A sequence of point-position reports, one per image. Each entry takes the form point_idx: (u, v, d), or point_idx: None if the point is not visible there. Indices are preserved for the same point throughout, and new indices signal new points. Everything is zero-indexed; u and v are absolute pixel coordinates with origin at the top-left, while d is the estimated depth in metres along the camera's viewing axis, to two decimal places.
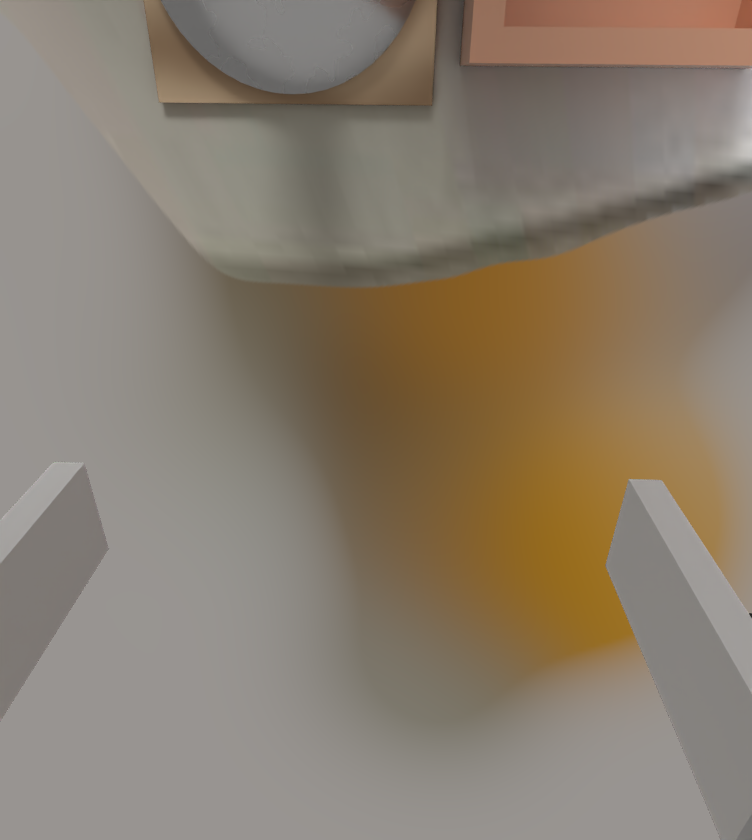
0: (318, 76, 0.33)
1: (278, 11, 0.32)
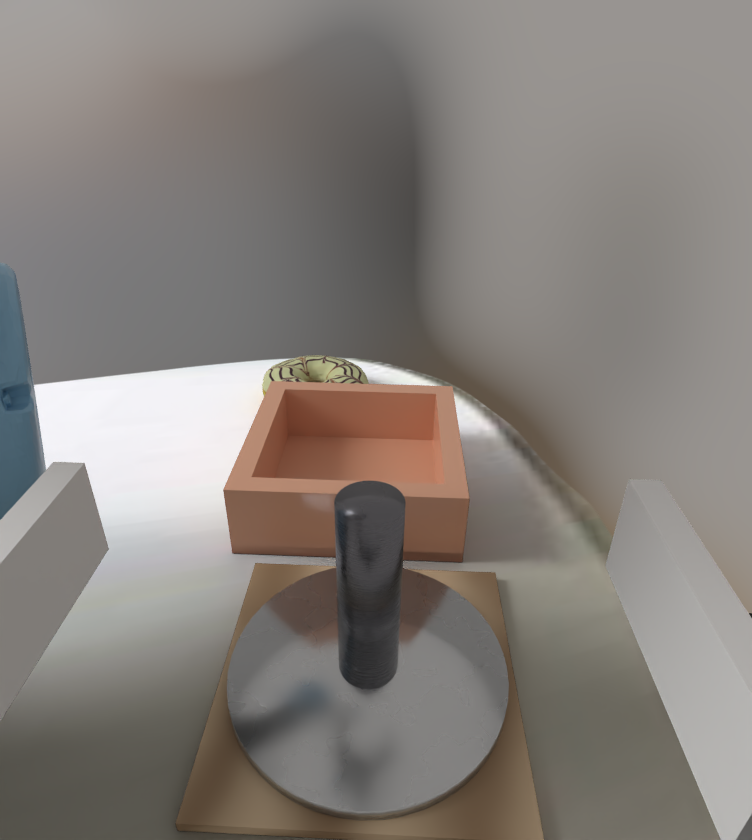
0: (487, 644, 0.33)
1: (435, 673, 0.32)
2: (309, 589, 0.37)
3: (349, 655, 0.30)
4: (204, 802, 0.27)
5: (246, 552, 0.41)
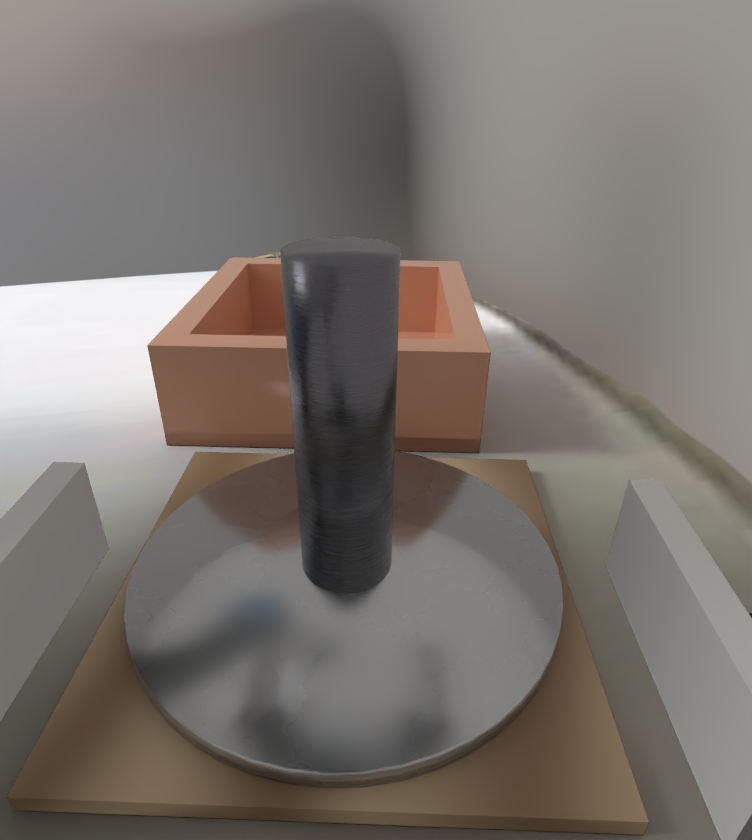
0: (524, 536, 0.22)
1: (448, 572, 0.21)
2: (265, 475, 0.26)
3: (314, 536, 0.19)
4: (63, 762, 0.16)
5: (185, 443, 0.30)
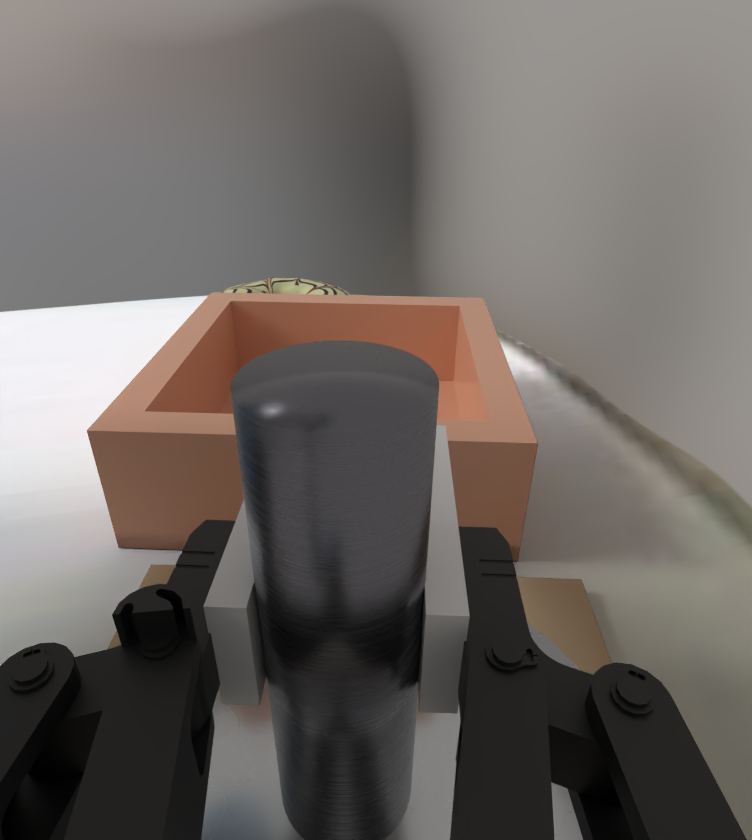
0: None
1: None
2: None
3: (296, 783, 0.12)
4: None
5: (142, 546, 0.24)
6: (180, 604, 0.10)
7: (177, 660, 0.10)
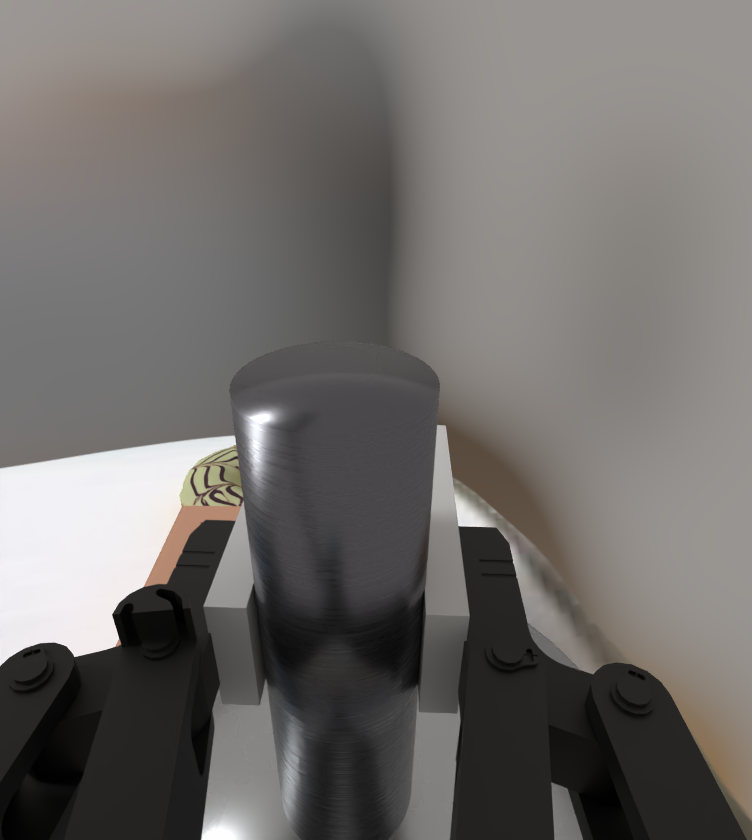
0: None
1: None
2: None
3: (296, 786, 0.12)
4: None
5: None
6: (180, 604, 0.10)
7: (177, 660, 0.10)
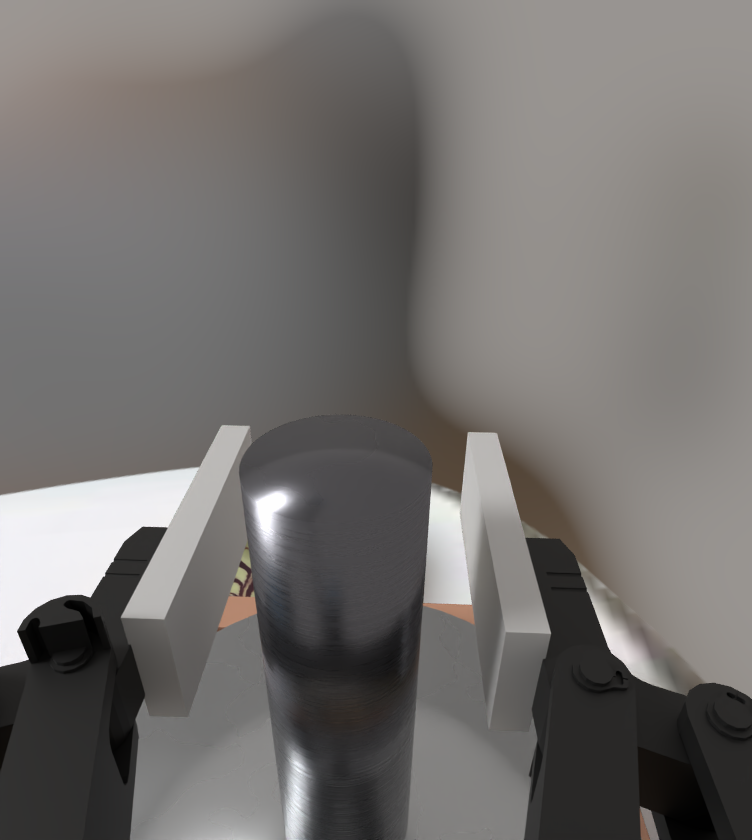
0: None
1: None
2: (242, 645, 0.20)
3: (299, 822, 0.13)
4: None
5: None
6: (91, 614, 0.10)
7: (91, 670, 0.09)
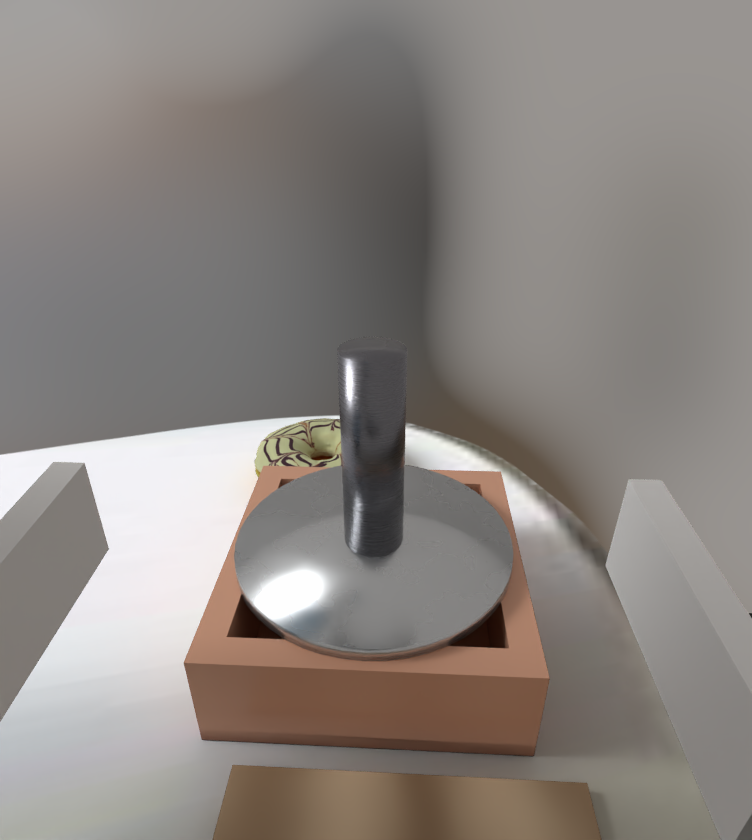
0: (492, 522, 0.33)
1: (440, 545, 0.32)
2: (316, 481, 0.37)
3: (354, 519, 0.30)
4: None
5: (221, 739, 0.29)
6: None
7: None
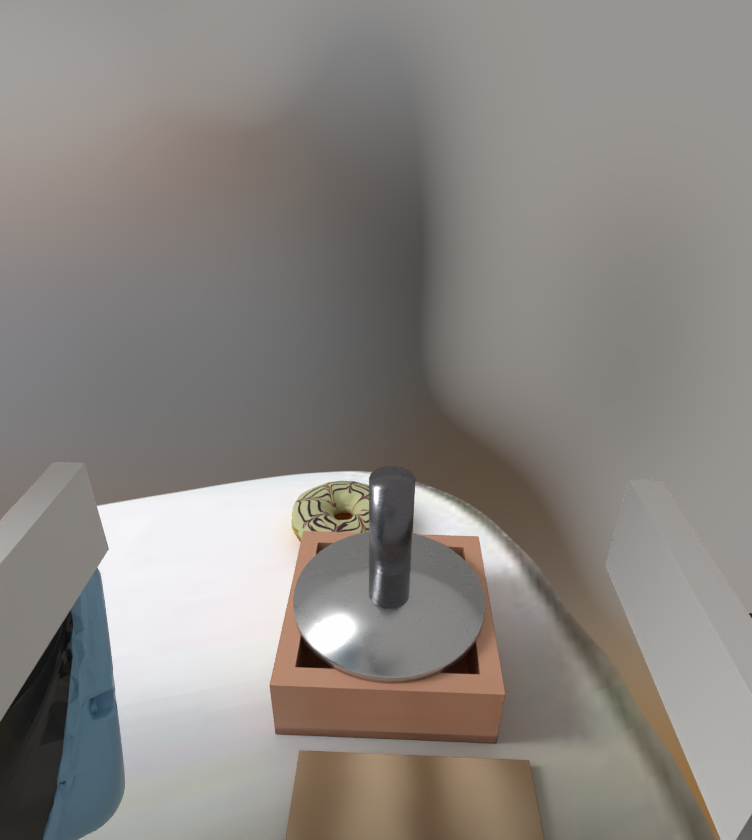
0: (471, 581, 0.48)
1: (435, 599, 0.46)
2: (344, 547, 0.51)
3: (377, 584, 0.44)
4: None
5: (289, 733, 0.43)
6: None
7: None
